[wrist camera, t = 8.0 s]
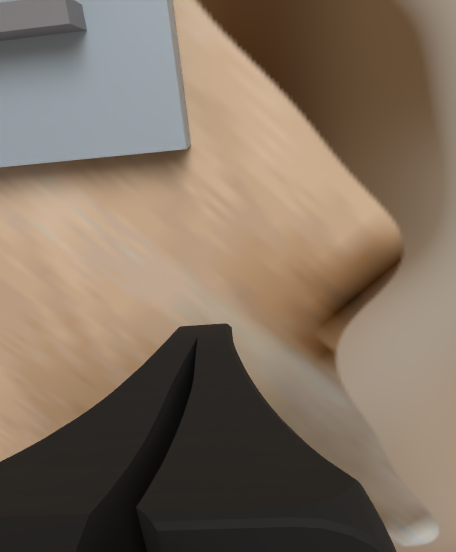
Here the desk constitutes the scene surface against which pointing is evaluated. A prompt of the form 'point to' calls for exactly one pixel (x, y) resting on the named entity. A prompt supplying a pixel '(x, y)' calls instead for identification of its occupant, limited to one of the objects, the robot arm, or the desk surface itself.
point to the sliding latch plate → (89, 80)
